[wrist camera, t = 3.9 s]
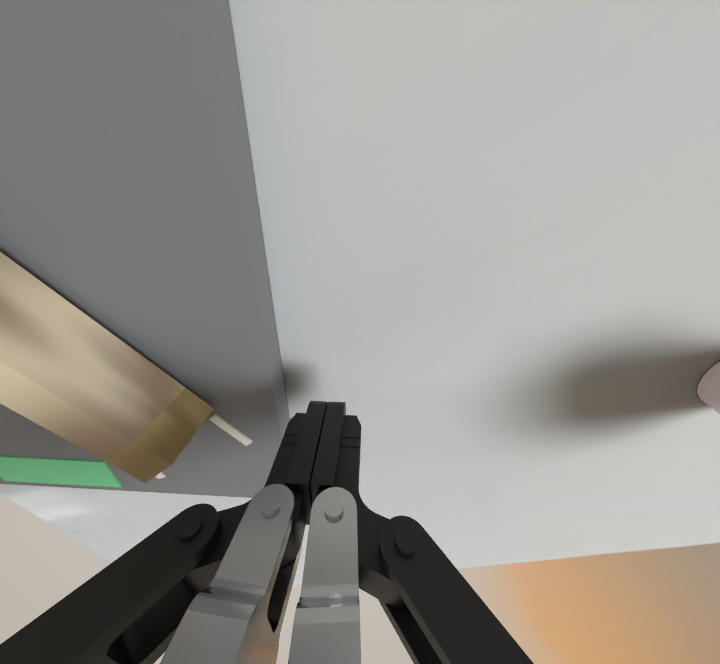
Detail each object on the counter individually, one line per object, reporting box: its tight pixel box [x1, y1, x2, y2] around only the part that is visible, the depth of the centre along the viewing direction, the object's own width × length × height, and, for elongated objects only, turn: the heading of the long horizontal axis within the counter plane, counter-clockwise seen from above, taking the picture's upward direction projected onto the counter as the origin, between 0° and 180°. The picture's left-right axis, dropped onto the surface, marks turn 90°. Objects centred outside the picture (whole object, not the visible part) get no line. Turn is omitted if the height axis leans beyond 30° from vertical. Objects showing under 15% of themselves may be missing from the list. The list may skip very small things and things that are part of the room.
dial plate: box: [0, 0, 290, 498], centre depth 12 cm, size 24×20×2 cm
